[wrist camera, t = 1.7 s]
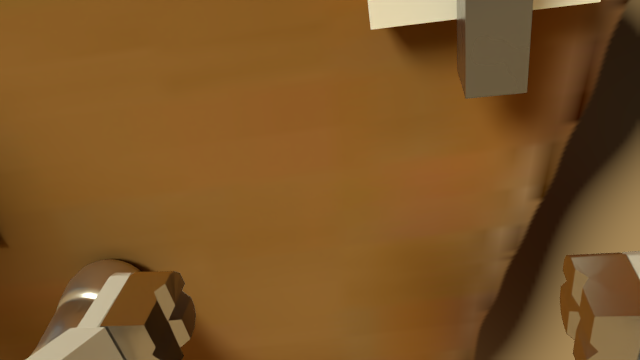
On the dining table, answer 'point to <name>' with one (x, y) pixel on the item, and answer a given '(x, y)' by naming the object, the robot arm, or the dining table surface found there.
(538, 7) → the housing
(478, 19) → the grey bar
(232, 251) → the dining table surface
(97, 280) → the plastic bottle
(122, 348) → the robot arm
